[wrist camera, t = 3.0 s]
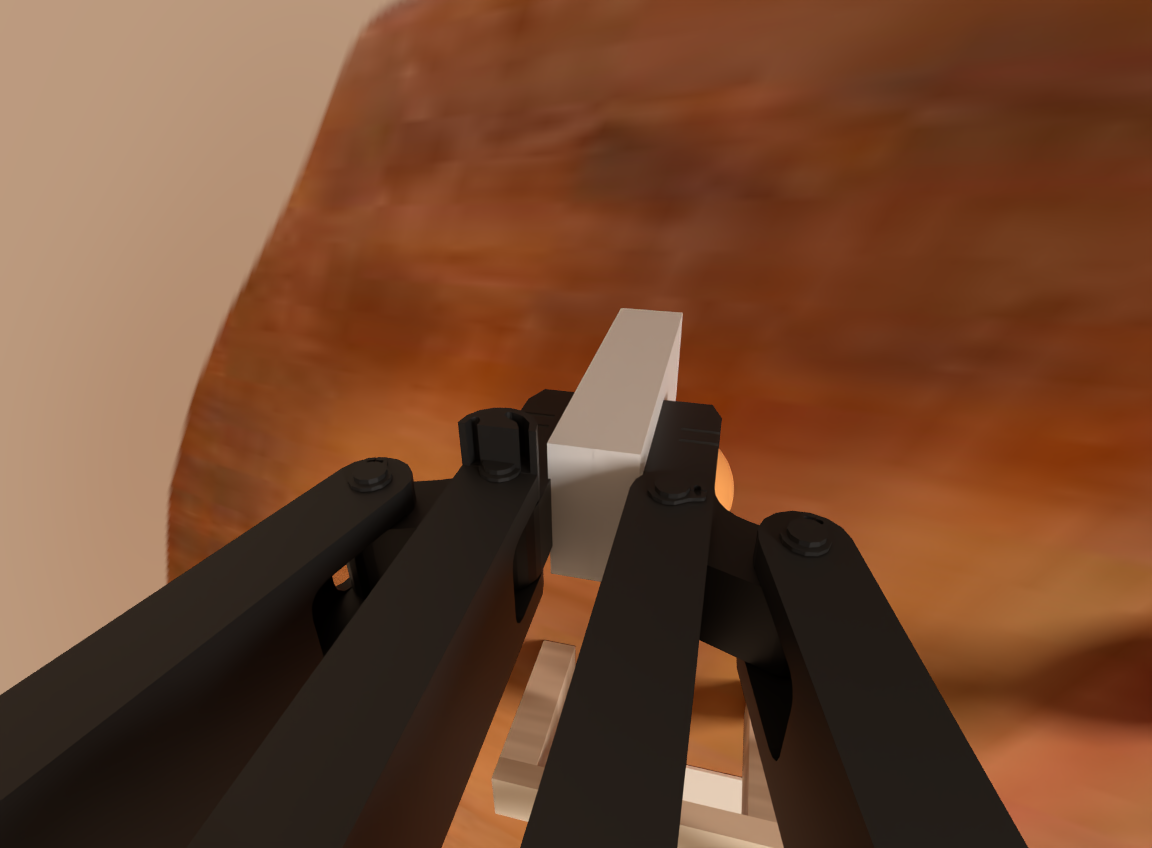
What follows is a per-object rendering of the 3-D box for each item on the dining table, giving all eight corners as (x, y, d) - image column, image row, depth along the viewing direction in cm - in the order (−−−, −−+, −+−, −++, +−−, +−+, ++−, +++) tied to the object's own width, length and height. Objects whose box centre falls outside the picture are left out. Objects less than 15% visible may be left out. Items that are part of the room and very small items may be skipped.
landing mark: (729, 887, 48) (729, 890, 48) (560, 842, 51) (559, 845, 51) (752, 780, 42) (752, 782, 42) (557, 735, 44) (556, 738, 44)
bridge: (778, 721, 39) (782, 887, 31) (545, 673, 42) (495, 813, 34) (786, 687, 37) (792, 852, 29) (543, 640, 40) (491, 778, 32)
